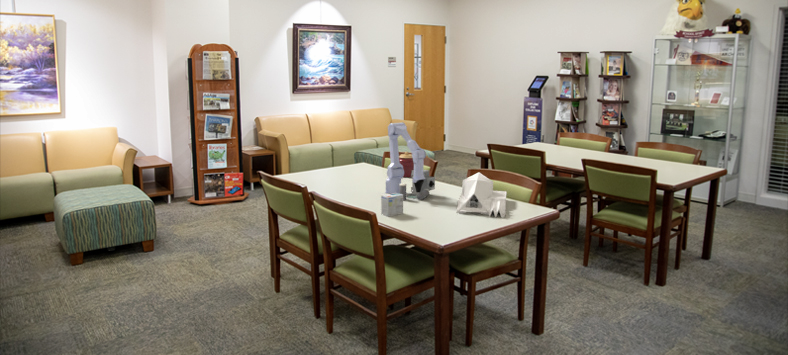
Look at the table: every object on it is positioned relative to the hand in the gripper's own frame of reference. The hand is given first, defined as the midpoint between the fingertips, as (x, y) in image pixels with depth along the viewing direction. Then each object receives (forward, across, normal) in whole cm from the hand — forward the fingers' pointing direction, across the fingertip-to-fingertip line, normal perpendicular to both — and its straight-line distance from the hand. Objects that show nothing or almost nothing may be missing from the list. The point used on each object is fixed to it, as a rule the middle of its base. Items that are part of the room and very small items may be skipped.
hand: (418, 192), depth 341 cm
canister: (+5, +63, +33) cm, 71 cm away
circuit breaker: (+5, +12, +1) cm, 13 cm away
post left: (+4, -4, +8) cm, 10 cm away
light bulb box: (+5, -37, +1) cm, 37 cm away
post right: (+2, -2, -2) cm, 3 cm away
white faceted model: (+5, -2, -41) cm, 41 cm away
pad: (+4, +4, +4) cm, 7 cm away
